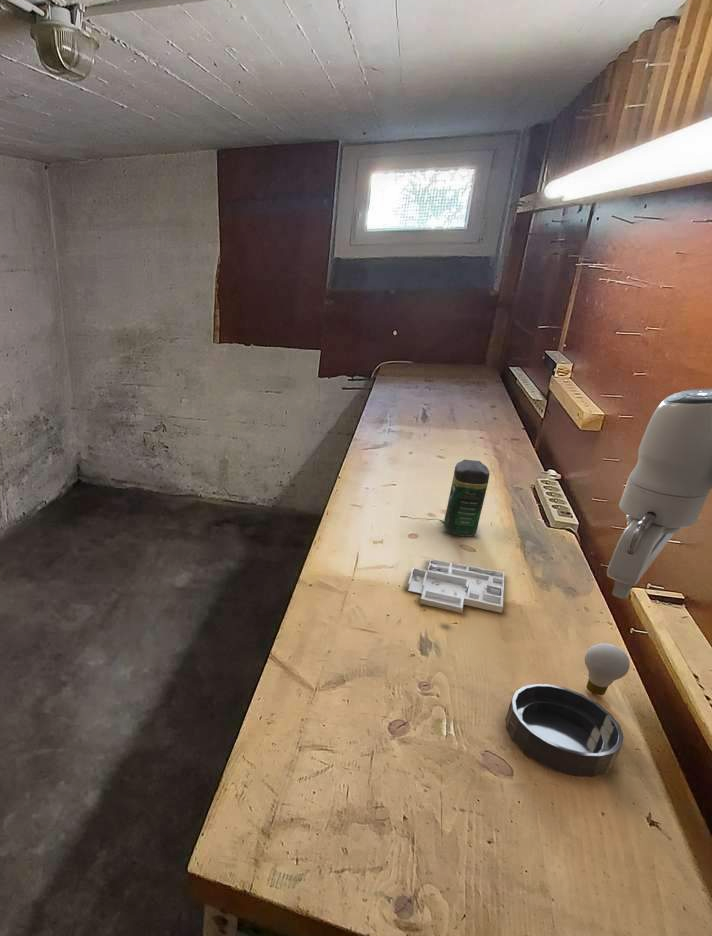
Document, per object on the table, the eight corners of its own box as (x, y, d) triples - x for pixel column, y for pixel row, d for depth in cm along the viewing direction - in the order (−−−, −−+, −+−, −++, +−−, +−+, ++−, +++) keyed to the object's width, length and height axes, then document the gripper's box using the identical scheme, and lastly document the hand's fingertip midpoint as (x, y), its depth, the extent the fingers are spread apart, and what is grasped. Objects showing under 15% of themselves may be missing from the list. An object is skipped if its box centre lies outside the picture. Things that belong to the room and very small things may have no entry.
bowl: (558, 699, 95) (566, 676, 93) (637, 768, 83) (648, 744, 80) (484, 715, 93) (491, 692, 90) (554, 789, 80) (564, 765, 78)
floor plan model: (399, 615, 117) (401, 608, 116) (415, 559, 137) (417, 552, 136) (501, 640, 109) (504, 632, 108) (503, 576, 128) (505, 569, 127)
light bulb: (581, 703, 94) (599, 657, 90) (568, 678, 99) (584, 633, 95) (621, 708, 93) (642, 661, 88) (606, 683, 98) (624, 638, 93)
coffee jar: (478, 539, 144) (493, 472, 136) (444, 535, 146) (457, 469, 138) (474, 522, 152) (488, 458, 144) (442, 519, 155) (454, 456, 146)
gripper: (669, 534, 72) (634, 621, 78) (704, 488, 84) (671, 567, 90) (611, 518, 77) (582, 602, 83) (652, 477, 88) (623, 553, 94)
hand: (628, 583), depth 86 cm, fingers open, 8 cm apart
